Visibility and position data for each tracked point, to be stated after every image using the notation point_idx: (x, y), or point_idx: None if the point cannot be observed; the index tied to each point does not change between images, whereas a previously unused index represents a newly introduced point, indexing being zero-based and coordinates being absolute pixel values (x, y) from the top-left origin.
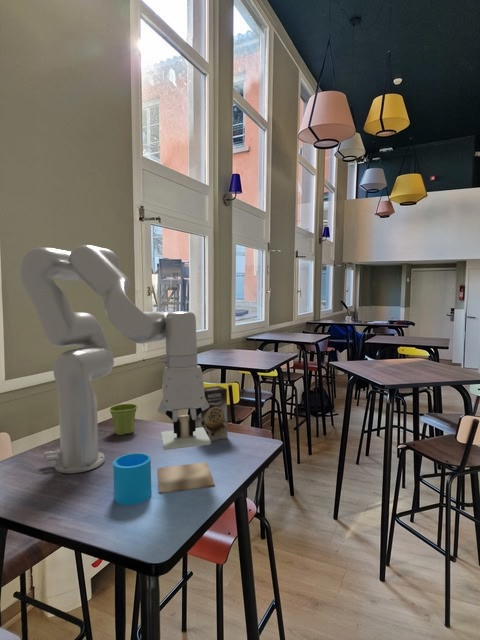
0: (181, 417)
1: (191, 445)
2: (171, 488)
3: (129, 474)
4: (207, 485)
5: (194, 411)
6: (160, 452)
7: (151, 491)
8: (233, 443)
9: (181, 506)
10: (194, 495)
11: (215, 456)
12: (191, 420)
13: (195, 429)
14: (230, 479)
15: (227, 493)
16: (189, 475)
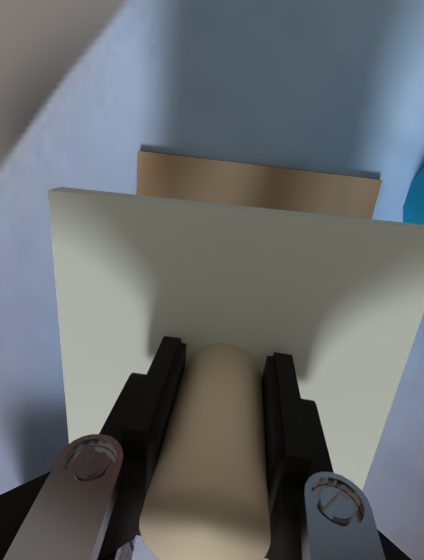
0: (245, 514)
1: (210, 203)
2: (322, 186)
3: None
4: (169, 154)
5: (39, 540)
6: None
7: (404, 207)
8: (10, 459)
9: (321, 13)
10: (241, 98)
11: None
12: (136, 433)
13: (129, 377)
14: (68, 183)
15: (102, 58)
16: None
